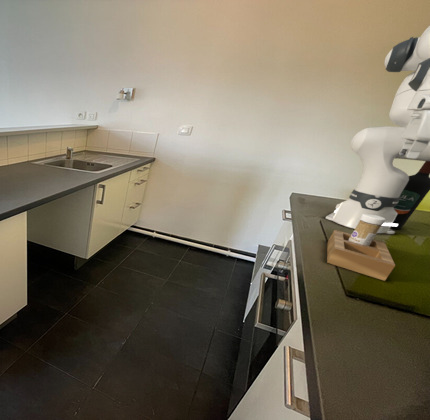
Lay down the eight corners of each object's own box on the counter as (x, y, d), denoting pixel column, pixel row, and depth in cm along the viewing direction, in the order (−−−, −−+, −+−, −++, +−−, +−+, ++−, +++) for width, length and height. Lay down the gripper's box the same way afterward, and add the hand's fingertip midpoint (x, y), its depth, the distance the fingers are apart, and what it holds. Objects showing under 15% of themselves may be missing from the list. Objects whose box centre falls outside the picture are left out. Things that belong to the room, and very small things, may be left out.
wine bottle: (406, 230, 99) (462, 157, 88) (385, 227, 100) (437, 154, 89) (387, 223, 106) (436, 154, 95) (367, 220, 107) (413, 151, 96)
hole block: (327, 242, 86) (334, 229, 84) (376, 255, 79) (384, 242, 77) (326, 262, 73) (334, 248, 71) (384, 280, 66) (395, 265, 64)
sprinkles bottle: (337, 250, 81) (358, 212, 76) (351, 250, 81) (373, 213, 76) (352, 257, 77) (375, 218, 71) (367, 258, 76) (391, 219, 71)
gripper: (409, 105, 72) (384, 152, 77) (427, 100, 59) (395, 157, 64) (447, 105, 68) (417, 155, 73) (475, 100, 55) (436, 162, 60)
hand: (407, 156), depth 69 cm, fingers open, 8 cm apart
